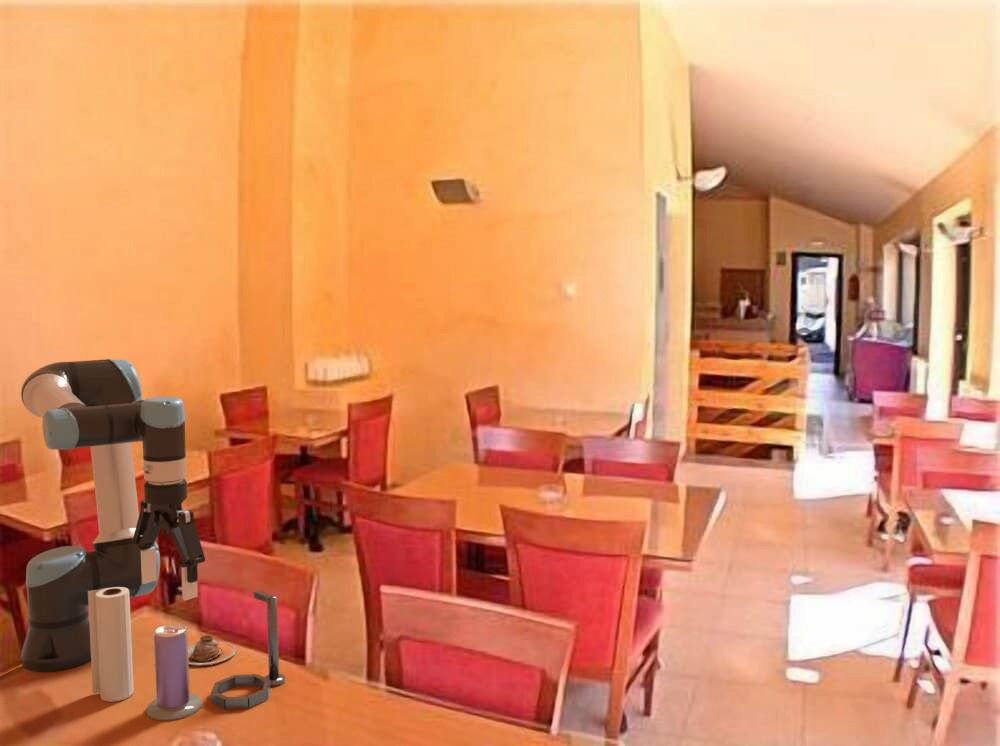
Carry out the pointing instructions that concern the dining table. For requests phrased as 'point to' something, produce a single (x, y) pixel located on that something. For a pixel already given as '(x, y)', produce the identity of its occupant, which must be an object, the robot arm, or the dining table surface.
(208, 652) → the pastry
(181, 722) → the dining table surface
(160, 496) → the robot arm
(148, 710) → the coaster
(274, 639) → the stand
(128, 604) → the paper towel roll
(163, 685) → the beverage can
